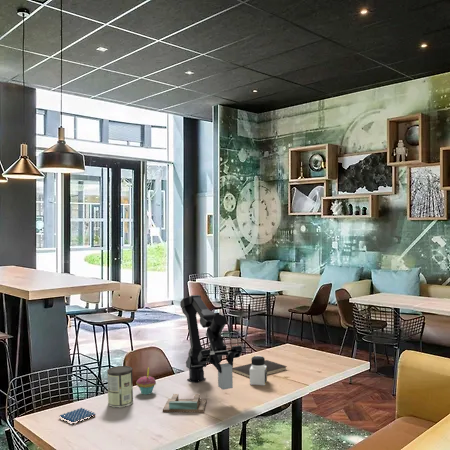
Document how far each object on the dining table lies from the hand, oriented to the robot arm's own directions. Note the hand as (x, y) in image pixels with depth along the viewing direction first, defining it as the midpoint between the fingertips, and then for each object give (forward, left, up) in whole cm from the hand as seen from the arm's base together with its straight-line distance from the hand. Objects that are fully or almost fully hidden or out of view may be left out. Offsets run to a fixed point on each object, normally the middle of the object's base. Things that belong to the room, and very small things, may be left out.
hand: (226, 371), depth 196 cm
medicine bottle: (-5, +30, -13) cm, 33 cm away
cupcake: (-37, -10, -13) cm, 41 cm away
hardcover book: (-16, +46, -14) cm, 50 cm away
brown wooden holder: (-12, -12, -13) cm, 21 cm away
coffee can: (-36, -25, -13) cm, 46 cm away
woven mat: (-37, -45, -14) cm, 60 cm away
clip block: (-1, +1, -7) cm, 7 cm away
